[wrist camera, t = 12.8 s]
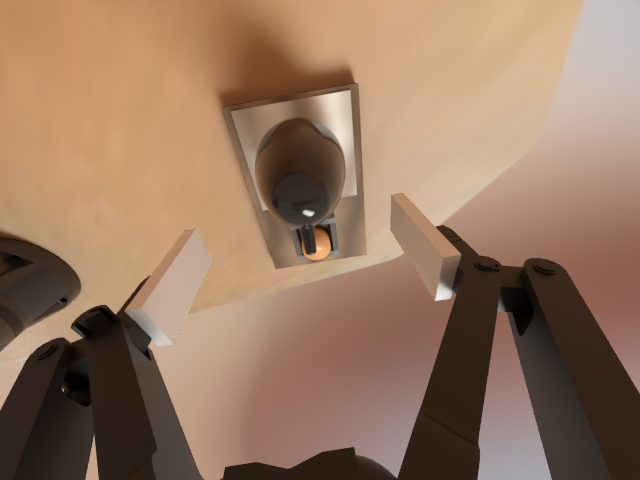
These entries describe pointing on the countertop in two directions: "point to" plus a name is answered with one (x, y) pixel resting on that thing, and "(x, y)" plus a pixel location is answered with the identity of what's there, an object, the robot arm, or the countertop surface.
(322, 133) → the pump dispenser
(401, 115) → the countertop surface
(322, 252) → the button
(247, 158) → the drawing board
